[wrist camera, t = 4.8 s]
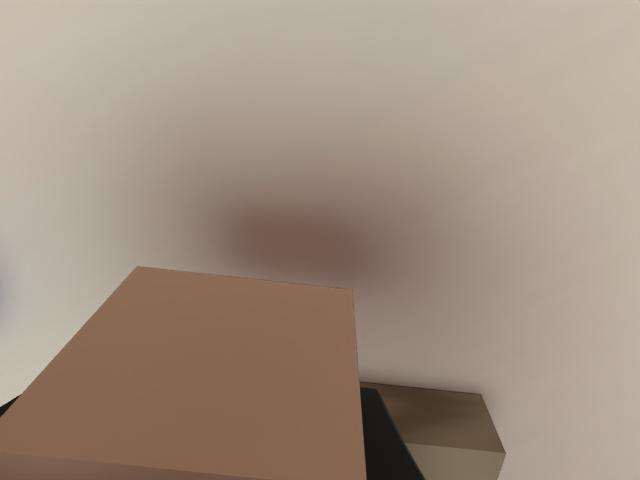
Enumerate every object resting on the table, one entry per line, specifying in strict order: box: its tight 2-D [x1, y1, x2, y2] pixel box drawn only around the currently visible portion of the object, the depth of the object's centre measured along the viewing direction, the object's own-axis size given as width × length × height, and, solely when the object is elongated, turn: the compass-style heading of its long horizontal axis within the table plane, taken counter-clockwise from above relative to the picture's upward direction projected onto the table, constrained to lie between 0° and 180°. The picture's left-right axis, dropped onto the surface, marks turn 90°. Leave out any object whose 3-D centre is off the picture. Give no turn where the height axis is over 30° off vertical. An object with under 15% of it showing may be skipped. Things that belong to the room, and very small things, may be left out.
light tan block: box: [0, 266, 367, 480], centre depth 9 cm, size 4×4×5 cm
